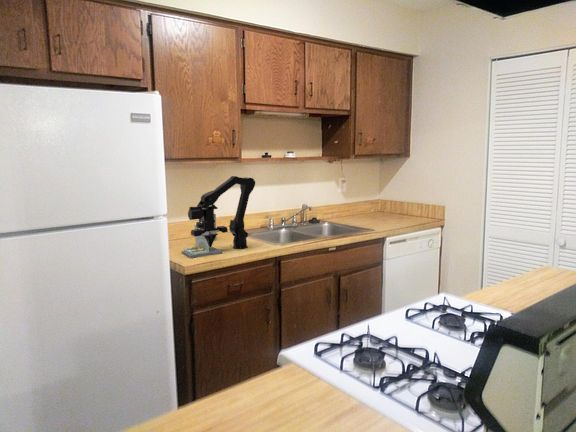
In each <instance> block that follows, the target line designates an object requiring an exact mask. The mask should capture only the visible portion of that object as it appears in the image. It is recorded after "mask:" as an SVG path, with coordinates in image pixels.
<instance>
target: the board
mask: <svg viewBox="0 0 576 432" xmlns="http://www.w3.org/2000/svg"><path fill="white" fill-rule="evenodd" d="M191 248H194V249H197V251H203V248H198V246H196V245H191ZM220 254H223V250H220V249H219V248H216V247H213V246H211V247H209V253H203V254H196V255H191V254H189V253H187V252H186V251H184V250H181V255H184V256H186V257H187V258H188V259H193V258H194V259H195V258H201V257H207V256H213V255H214V256H215V255H220Z"/></svg>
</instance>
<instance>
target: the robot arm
mask: <svg viewBox="0 0 576 432" xmlns="http://www.w3.org/2000/svg"><path fill="white" fill-rule="evenodd" d="M235 185H239V189H240V195H239V198H238V199H239V201H238V204H237V208H236V212H235V216H234V218H233V220H232V219H230V220H229V225H228V227H229V229H228V227H227V226H224V225H219V226H216V228H215V223H214V222H215V220H214V214H215V210H218V209H219V208H218V206H216V205H215V204H216V202H217V201H218V199H219V198H220V197H221V196H222V195H224V193H226V192H227V191H229V190H230V189H231V188H232V187H234V186H235ZM255 186H256V181H255V178H252V177H246V176H245V177H238V176H237V175H232V176H230V177H229V178H228V179H227V180H225V181H224V182H223V183H221V184H220V185H218V186H217V187H216V188H214V189H213V190H210V191H208V192H205V193H204V194H203V193H202V195H201V197H200V201H199V202H198V204H197V205H196V206H189V209H188V212H187V217H188V219H189V221H194V220H195V221H196V220H199V219H201V218H202V217H203V220H202V223H201V222H199V221H197V222H195V224H196V227H197V228H200V230H199V229H195V228H194V229H191V230H190V236H193V237H195V236H201V235H202V236H204V237H205V238H206V240H207V243H208V245H209V247H213V243H214V241H215V240H214V239H215V237H216V238H217V236H218V235H219V234H218V232H221V233H222V234H224V233H229V232H230V233H231V234H232V237H233V239H232V240H233V241H232V243H233V245H232V248H234V249H237V250H240V249H247V248H249V246H248V244H247V243H248V242H247V238H248V236H249V232H247V231H246V230H245V221H244V220H245V219H244V218H245V214H246V211H247V207H248V202H249V199H250V194H251V193H252V192H253V190H254V188H255ZM203 229H204V230H203ZM228 230H229V232H228Z"/></svg>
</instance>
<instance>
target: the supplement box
mask: <svg viewBox="0 0 576 432" xmlns="http://www.w3.org/2000/svg"><path fill="white" fill-rule="evenodd" d="M201 223H202V222H201ZM194 229H199V230H200V228H197V227H196V223H194ZM203 230H204V229H203ZM194 239H195V246H198V241H201V242H203V243H205V244H208V243H207V240H206V238H205V237H204V236H202V235H201V236H194Z"/></svg>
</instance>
